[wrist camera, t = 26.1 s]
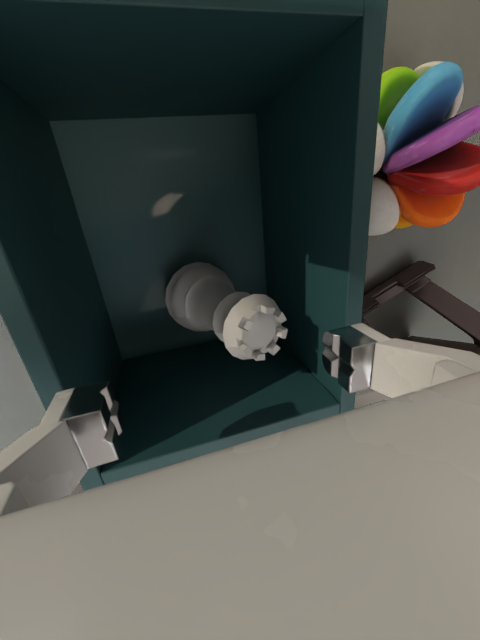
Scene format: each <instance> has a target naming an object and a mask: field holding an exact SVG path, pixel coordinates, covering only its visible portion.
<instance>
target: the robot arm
mask: <svg viewBox="0 0 480 640" xmlns="http://www.w3.org/2000/svg"><path fill="white" fill-rule="evenodd" d="M322 343H323V344H324V345H325V349H324V351H323V352H322V362H323V365H324V368H325V370H326V371H327V373H328V374H329V375H330V376H333V377H336V378H338V383H339V384H340V385H341V386H342V387H343V388H344V389H345V390H346V391H347V392H348V393H353V392H357V391H360V390H364V389H368V388H370V389H372V390H374V391H376V392H379V393H381V394H383V395H386V396H388V397H390V399H387V400H383V401H380V402H377V403H373V404H370V405H367V406H363V407H360V408H357V409H353V410H350V411H347V412H344V413H340V414H337V415H334V416H330V417H327V418H324V419H320V420H317V421H314V422H310V423H307V424H304V425H301V426H297V427H294V428H291V429H287V430H284V431H281V432H277V433H274V434H271V435H267V436H264V437H261V438H258V439H254V440H251V441H248V442H244V443H241V444H238V445H234V446H231V447H228V448H224V449H221V450H218V451H214V452H211V453H208V454H205V455H201V456H198V457H195V458H191V459H188V460H185V461H181V462H178V463H175V464H171V465H168V466H165V467H162V468H158V469H155V470H152V471H148V472H145V473H142V474H138V475H135V476H132V477H128V478H125V479H122V480H118V481H115V482H112V483H109V484H105V485H102V486H99V487H95V488H92V489H89V490H85V491H83V492H79V493H75V494H72V495H70V493H71V492H72V491H73V489H74V488H75V487H76V486H77V484H78V483H79V482H80V480H81V479H82V478H83V476H84V475H85V474H86V472H87V471H88V470H87V469H90V468H93V467H96V466H99V465H103V464H106V463H109V462H112V461H115V460H118V459H119V452H120V445H121V441H120V438H119V435H120V434H121V433H122V431H123V415H122V410H121V407H120V404H119V402H117V401H116V400H114V397H115V389H114V386H113V384H112V382H111V381H105V382H100V383H96V384H91V385H86V386H81V387H77V388H71V389H67V390H63V391H59V392H57V393H56V394H55V396H54V398H53V400H52V401H51V403H50V405H49V407H48V409H47V411H46V413H45V415H44V416H43V418H42V420H41V422H40V424H39V426H38V427H35V428H32V429H30V430H29V431H28V432H26V433H25V434H24V435H22V436H21V437H20V438H18V439H17V440H16V441H14V442H13V443H12V444H10V445H9V446H8V447H6V448H5V449H4V450H2V451H1V452H0V640H480V355H477V354H475V353H473V352H470V351H465V350H459V349H453V348H448V347H442V346H436V345H431V344H425V343H420V342H414V341H408V340H403V339H397V338H394V339H391V338H389V337H387V336H385V335H383V334H381V333H380V332H378V331H376V330H374V329H372V328H371V327H369V326H367V325H365V324H363V323H357V324H354V325H350V326H346V327H342V328H338V329H334V330H330V331H327V332H324V334H323V337H322Z"/></svg>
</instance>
